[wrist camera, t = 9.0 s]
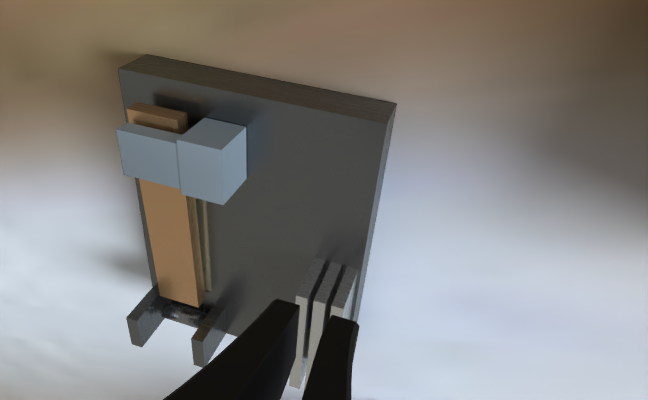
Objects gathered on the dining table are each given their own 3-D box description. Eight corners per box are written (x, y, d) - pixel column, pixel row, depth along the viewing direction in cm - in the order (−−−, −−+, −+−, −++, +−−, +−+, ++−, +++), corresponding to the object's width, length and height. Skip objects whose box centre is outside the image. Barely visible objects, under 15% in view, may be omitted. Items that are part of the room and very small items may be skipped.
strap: (209, 321, 26) (202, 332, 26) (170, 309, 27) (162, 320, 26) (189, 112, 19) (178, 121, 18) (135, 100, 19) (123, 108, 19)
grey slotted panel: (353, 341, 27) (330, 412, 23) (175, 287, 29) (128, 344, 25) (396, 103, 19) (372, 155, 15) (147, 54, 21) (73, 89, 17)
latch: (246, 178, 20) (223, 204, 19) (153, 156, 21) (123, 179, 19) (246, 126, 19) (221, 150, 17) (146, 104, 20) (114, 125, 18)
